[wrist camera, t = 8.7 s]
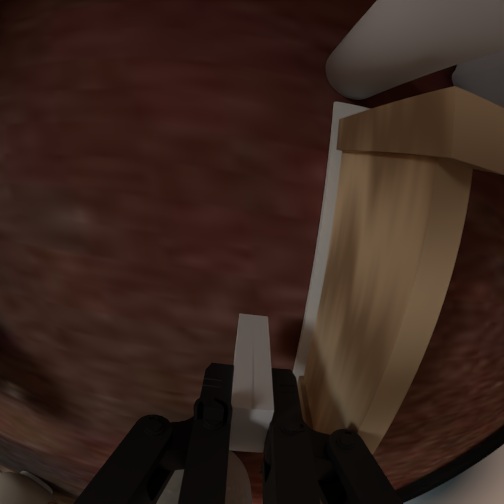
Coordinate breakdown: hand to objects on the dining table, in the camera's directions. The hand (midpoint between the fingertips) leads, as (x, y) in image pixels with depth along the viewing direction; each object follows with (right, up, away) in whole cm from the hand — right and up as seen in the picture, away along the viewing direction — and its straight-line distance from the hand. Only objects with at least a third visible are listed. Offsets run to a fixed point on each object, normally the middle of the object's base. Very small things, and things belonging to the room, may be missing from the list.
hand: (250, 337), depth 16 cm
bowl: (-36, -34, +15) cm, 52 cm away
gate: (+5, +3, +1) cm, 5 cm away
